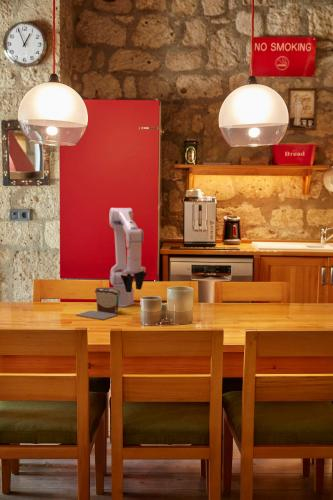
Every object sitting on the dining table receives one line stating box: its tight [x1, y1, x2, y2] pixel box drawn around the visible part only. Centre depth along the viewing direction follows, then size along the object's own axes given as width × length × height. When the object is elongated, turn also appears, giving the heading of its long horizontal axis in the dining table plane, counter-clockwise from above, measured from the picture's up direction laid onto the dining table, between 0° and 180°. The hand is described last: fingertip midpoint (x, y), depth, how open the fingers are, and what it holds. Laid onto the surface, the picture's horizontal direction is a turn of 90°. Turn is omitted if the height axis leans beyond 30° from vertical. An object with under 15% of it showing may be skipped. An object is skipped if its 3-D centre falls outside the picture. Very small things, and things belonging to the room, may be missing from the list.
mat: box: [75, 310, 119, 321], centre depth 229 cm, size 10×14×1 cm
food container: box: [94, 286, 121, 315], centre depth 236 cm, size 12×6×10 cm, turn 59°
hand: (133, 290), depth 230 cm, fingers open, 7 cm apart
